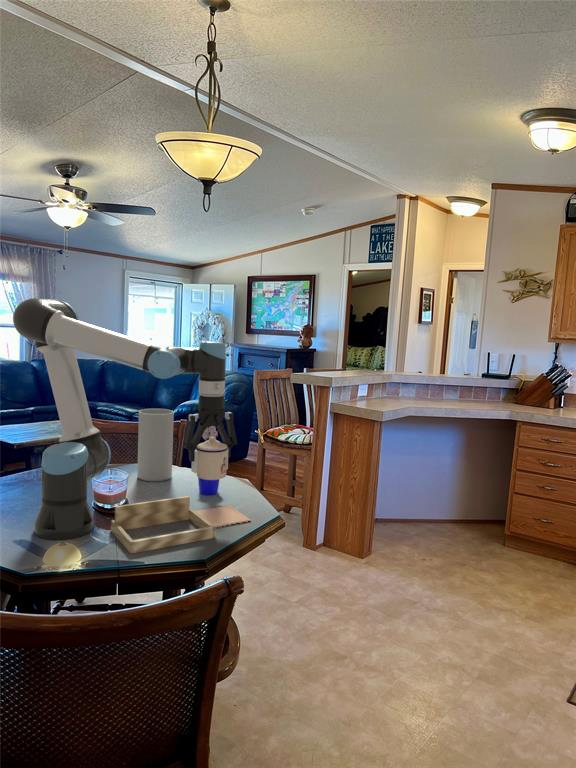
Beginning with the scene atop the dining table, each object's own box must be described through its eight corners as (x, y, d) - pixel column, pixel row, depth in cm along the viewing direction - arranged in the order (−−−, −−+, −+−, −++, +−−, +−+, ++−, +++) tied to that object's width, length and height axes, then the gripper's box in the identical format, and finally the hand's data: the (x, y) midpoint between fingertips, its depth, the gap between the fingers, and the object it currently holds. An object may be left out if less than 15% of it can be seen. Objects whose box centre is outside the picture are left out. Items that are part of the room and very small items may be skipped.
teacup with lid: (227, 480, 160) (228, 440, 159) (195, 480, 159) (196, 440, 158) (226, 469, 172) (227, 432, 171) (196, 469, 171) (197, 431, 169)
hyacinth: (223, 497, 190) (227, 410, 186) (193, 495, 190) (196, 408, 187) (226, 489, 199) (230, 406, 195) (198, 488, 199) (201, 404, 195)
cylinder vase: (143, 483, 200) (145, 415, 197) (132, 474, 211) (134, 409, 208) (176, 480, 207) (178, 413, 204) (164, 471, 217) (166, 408, 214)
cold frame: (130, 553, 142) (131, 527, 141) (111, 530, 156) (111, 506, 155) (215, 537, 155) (216, 513, 155) (190, 517, 169) (191, 495, 169)
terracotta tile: (208, 529, 161) (208, 527, 161) (189, 513, 173) (189, 511, 173) (250, 521, 169) (250, 519, 169) (229, 507, 181) (229, 505, 180)
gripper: (181, 398, 153) (179, 477, 156) (250, 395, 165) (248, 469, 168) (171, 394, 160) (170, 470, 162) (239, 391, 171) (236, 463, 174)
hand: (209, 470), depth 165 cm, fingers closed on teacup with lid, 9 cm apart
